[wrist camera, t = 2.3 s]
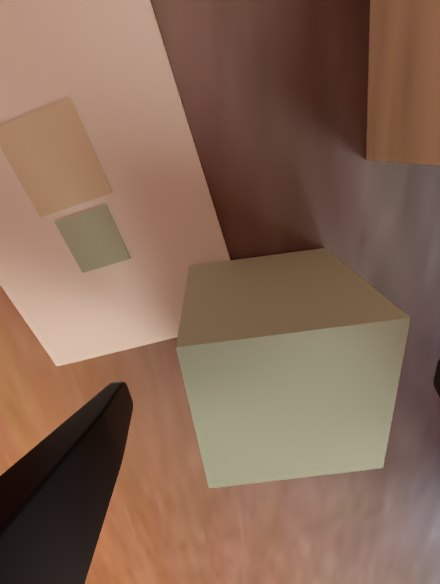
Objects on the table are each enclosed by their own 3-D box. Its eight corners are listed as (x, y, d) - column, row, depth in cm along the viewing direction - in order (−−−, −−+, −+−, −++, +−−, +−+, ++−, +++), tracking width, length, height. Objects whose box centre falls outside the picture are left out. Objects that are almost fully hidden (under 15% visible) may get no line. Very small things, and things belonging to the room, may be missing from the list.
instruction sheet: (122, -91, 7) (117, -100, 7) (248, 317, 12) (248, 321, 12) (-155, 51, 9) (-168, 48, 8) (59, 363, 13) (55, 368, 13)
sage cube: (324, 247, 11) (410, 317, 6) (321, 357, 13) (383, 468, 8) (189, 265, 11) (175, 347, 6) (208, 371, 13) (208, 488, 8)
